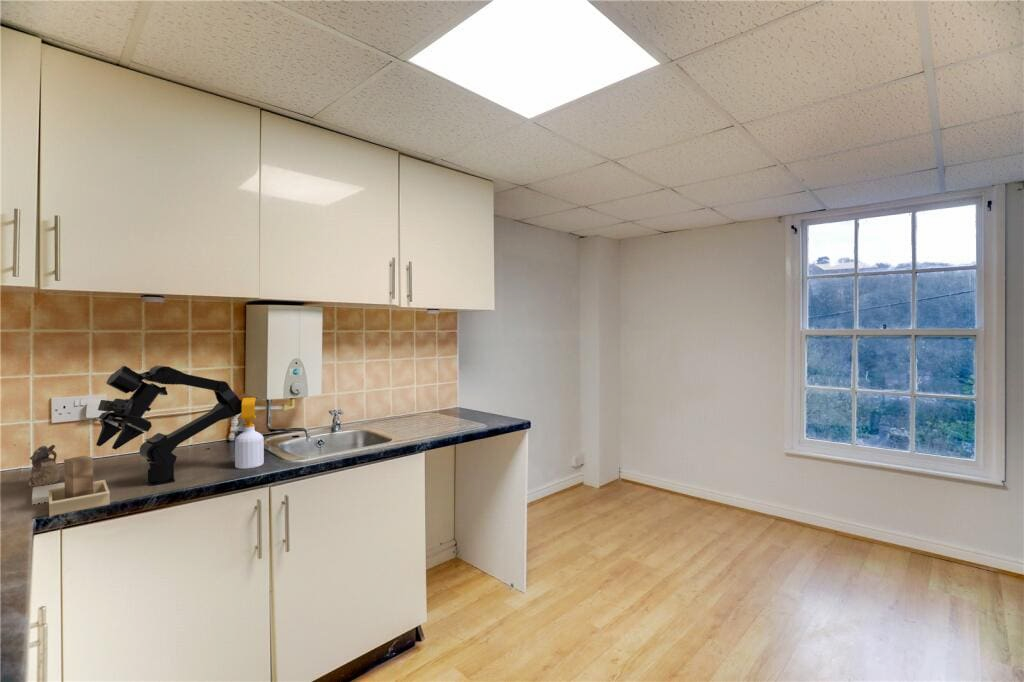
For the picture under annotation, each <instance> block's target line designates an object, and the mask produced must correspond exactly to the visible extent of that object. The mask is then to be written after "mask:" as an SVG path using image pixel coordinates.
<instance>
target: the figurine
mask: <svg viewBox="0 0 1024 682" xmlns="http://www.w3.org/2000/svg"><path fill="white" fill-rule="evenodd" d="M55 448H56V445H55V444H51V445H50V446H49V447H48V446H46V445H41V446H39V447H38V448H36V449H35V450H34V451H33V454H32V456H30V457H29V460H31V465H32V466H31V467H32V468H31V470H30V476H29V479H28V486H29V485H30V487H32V486H35V487H39V486H42V485H44V486H45V485H48V484H49V485H51V484H52V483H53V484H57V483H59V481H60V478H61V473H60V469H59V466H58V463H57V457H58V456H57V452H56V451H55V450H54V449H55ZM50 455H53V457H50Z"/></svg>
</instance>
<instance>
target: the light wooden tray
mask: <svg viewBox="0 0 1024 682" xmlns="http://www.w3.org/2000/svg"><path fill="white" fill-rule="evenodd" d="M110 494H111V491H110V490H109V487H108V485H107V482H106V479H102V480H95V481H94V480H93V494H90V495H85V496H79V497H74V498H68V499H65V486H64V487H58V488H52V489H49V502H48V509H49V511H48V512H49V513H48V514H49V515H48V516H49V517H51V516H52V517H53V516H56V515H63V514H67V513H72V512H76V511H82V510H83V511H84V510H88V509H94V508H97V507H103V506H108V505H110V504H111V503H110V497H111V496H110Z"/></svg>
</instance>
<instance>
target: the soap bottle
mask: <svg viewBox="0 0 1024 682" xmlns="http://www.w3.org/2000/svg"><path fill="white" fill-rule="evenodd" d="M256 399H257V397H244V398H242V400H241V401H242V413H241V420H244V421H245V422H246V424H244V425H243V432H241V433H239V434H238V435H237V436H236V437H235V439H234V466H235V468H236V469H240V470H245V469H246V470H249V469H255V468H258V467H260V466H263V465H264V463H265V461H264V458H265V455H264V454H265V451H264V450H265V449H264V446H265V445H264V442H265V440H264V438H265V437H264V436H263V434H262V433H260V432H258V431H256V430H255V424H254V423H253V421H254V419H256V418H257V415H255V414H256V412H255V411H256V410H255V409H256V408H255V405H256V401H257V400H256Z"/></svg>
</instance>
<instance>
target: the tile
mask: <svg viewBox="0 0 1024 682" xmlns="http://www.w3.org/2000/svg"><path fill="white" fill-rule="evenodd" d="M64 486H65V481H64V482H56V483H53V484H49V485H44V486H35V487H32V493H31V494H32V495H31V506H34V505H33V504H35V505H39V504H38V503H40V504H45V503H44V502H46V503H49V489H52V488H58V487H64Z"/></svg>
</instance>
